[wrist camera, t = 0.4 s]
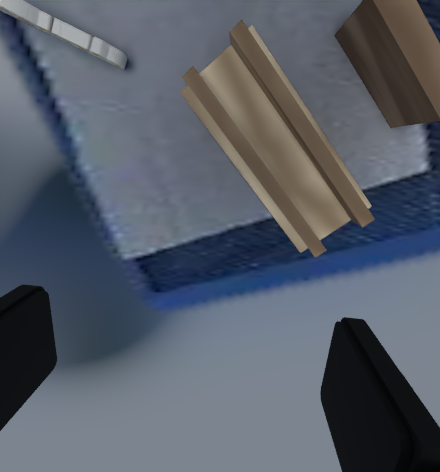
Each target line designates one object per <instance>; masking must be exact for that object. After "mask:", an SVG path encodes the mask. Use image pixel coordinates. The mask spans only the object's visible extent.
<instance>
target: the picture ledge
mask: <svg viewBox="0 0 440 472" xmlns="http://www.w3.org/2000/svg"><path fill="white" fill-rule="evenodd" d="M229 33H230V41H231V45H230V46H229V47H228V48H227V49H226V50H225V51H224V52H222V53H221V54H220V55H219V56H218V57H217V58H216V59H215V60H214V61H213V62H212V63H211V64H210V65H209V66H207V67H206V68H205V69H204V70H203V71H202V72H201V73H200V74H199V73H198V72H197V71H196V69H195V68H194V66H193V67H192V68H190V69H189V70H188V71H187V72H186V73H185V74H184V75H183V76H182V78H183V79H184V80H185V82H186V83H187V84H188V85H187V86H186V87H185V88H184V89H183V90H182V91H181V92H180V93H181V94H182V95H183V97H184V98H185V99H186V101H187V102H188V103H189V105H190V106H191V107H192V109H193V110H194V111H195V113H196V114H197V115H198V117H199V118H200V119H201V121H202V122H203V123H204V125H205V126H206V127H207V129H208V130H209V131H210V133H211V134H212V135H213V137H214V138H215V139H216V141H217V142H218V143H219V145H220V146H221V147H222V149H223V150H224V151H225V153H226V154H227V155H228V157H229V158H230V159H231V161H232V162H233V163H234V165H235V166H236V167H237V169H238V170H239V171H240V173H241V174H242V175H243V177H244V178H245V179H246V181H247V182H248V183H249V185H250V186H251V187H252V189H253V190H254V191H255V193H256V194H257V195H258V197H259V198H260V200H261V201H262V202H263V204H264V205H265V206H266V208H267V209H268V210H269V212H270V213H271V214H272V216H273V217H274V218H275V220H276V221H277V222H278V224H279V225H280V226H281V228H282V229H283V230H284V232H285V233H286V234H287V236H288V237H289V238H290V240H291V241H292V242H293V244H294V245H295V246H296V248H297V249H298V250H299V252H300V253H301V252H303V251H304V250H306V249H307V248H309V250H310V251H311V252H312V254H313V255H314V256H315V257H317V256H319V255H320V254H322V253H323V252H325V251H326V249H325V247H324V246H323V244H322V243H321V242H320V240H321V239H322V238H324V237H326V236H327V235H329V234H330V233H332V232H333V231H335V230H336V229H338V228H339V227H341V226H342V225H344V224H345V223H347V222H348V221H350V220H352V221H354V222H355V223H357V224H358V225H360V226H361V227H364V226H365V225H367V224H369V223H370V222H372V221H373V220H375V219H374V217H373V216H372V214H371V213H370V211H369V210H368V208H370V207H371V204H370V203H369V201H368V200H367V198H366V197H365V195H364V194H363V192H362V191H361V189H360V188H359V186H358V185H357V183H356V181H355V180H354V178H353V177H352V175H351V174H350V172H349V171H348V169H347V168H346V166H345V165H344V163H343V162H342V160H341V159H340V157H339V156H338V154H337V153H336V151H335V150H334V148H333V147H332V145H331V144H330V142H329V141H328V139H327V138H326V136H325V135H324V133H323V132H322V130H321V129H320V127H319V126H318V124H317V123H316V121H315V120H314V118H313V116H312V115H311V113H310V112H309V110H308V109H307V107H306V106H305V104H304V103H303V101H302V100H301V98H300V97H299V95H298V94H297V92H296V91H295V89H294V88H293V86H292V85H291V83H290V82H289V80H288V79H287V77H286V76H285V74H284V73H283V71H282V70H281V68H280V67H279V65H278V64H277V62H276V61H275V59H274V58H273V56H272V55H271V53H270V51H269V50H268V48H267V47H266V45H265V44H264V42H263V41H262V39H261V38H260V36H259V35H258V33H257V32H256V30H255V29H254V27H253V26H252V25H251V26H250V27H249V28H247V26H246V25H245V23H244V22H243V20H241V21H240V22H239V23H238V24H237V25H236V26H235V27H234V28H233V29H232V30H231V31H230V32H229Z"/></svg>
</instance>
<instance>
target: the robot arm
mask: <svg viewBox="0 0 440 472" xmlns="http://www.w3.org/2000/svg"><path fill="white" fill-rule="evenodd" d="M56 362H57V355H56V347H55V339H54V332H53V324H52V316H51V309H50V302H49V295H48V293H47V292H46V291H45V290H44V289H43V287H41V286H32V285H21V286H19V287H17V288H15V289H14V290H12V291H11V292H9V293H7V294H6V295H4V296H3V297H1V298H0V431H1V430H2V428H3V427H4V426H5V425H6V424H7V423H8V421H9V420H10V419H11V418H12V417H13V416H14V415H15V413H16V412H17V411H18V410H19V409H20V408H21V406H22V405H23V404H24V403H25V402H26V400H27V399H28V398H29V397H30V396H31V395H32V394H33V393H34V391H35V390H36V389H37V388H38V386H40V384H41V383H42V382H43V381H44V380H45V379H46V377H47V376H48V375H49V374H50V373H51V371H52V370H53V369H54V367H55V365H56ZM321 402H322V406H323V409H324V412H325V416H326V419H327V422H328V426H329V429H330V432H331V436H332V439H333V442H334V446H335V449H336V452H337V455H338V459H339V462H340V466H341V469H342V472H440V427H439V426H438V425H437V423H436V422H435V420H434V419H433V417H432V416H431V415H430V413H429V412H428V410H427V409H426V407H425V406H424V404H423V403H422V402H421V400H420V399H419V397H418V396H417V395H416V393H415V392H414V390H413V389H412V387H411V386H410V384H409V383H408V381H407V380H406V379H405V377H404V376H403V374H402V373H401V372H400V371H399V369H398V368H397V366H396V365H395V364H394V362H393V361H392V359H391V358H390V356H389V355H388V353H387V352H386V351H385V349H384V348H383V346H382V345H381V343H380V342H379V341H378V339H377V338H376V336H375V335H374V333H373V332H372V330H371V329H370V327H369V326H368V325H367V323H366V322H365V321H364V320H363V319H355V318H345V317H344V318H342V320H341V322H336V323H335V327H334V331H333V336H332V340H331V345H330V349H329V354H328V359H327V363H326V368H325V373H324V378H323V382H322V386H321Z"/></svg>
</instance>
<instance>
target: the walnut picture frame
mask: <svg viewBox="0 0 440 472" xmlns="http://www.w3.org/2000/svg"><path fill="white" fill-rule="evenodd" d="M335 37H336V39H337V40H338V42H339V44H340V45H341V47H342V49H343V50H344V52H345V53H346V55H347V57H348V58H349V60H350V62H351V63H352V65H353V67H354V68H355V70H356V72H357V73H358V75H359V77H360V78H361V80H362V81H363V83H364V85H365V86H366V88H367V90H368V91H369V93H370V95H371V96H372V98H373V100H374V101H375V103H376V105H377V106H378V108H379V109H380V111H381V113H382V114H383V116H384V118H385V119H386V121H387V123H388V124H389V126H390V128H393V127H400V126H407V125H414V124H421V123H428V122H435V121H440V44H439V42H438V40H437V38H436V36H435V34H434V33H433V31H432V29H431V27H430V25H429V23H428V21H427V19H426V18H425V16H424V14H423V12H422V10H421V8H420V6H419V4H418V3H417V1H416V0H363V1H362V2H361V3H360V5H359V6H358V7H357V8H356V10H355V11H354V12H353V13H352V15H351V16H350V17H349V18H348V20H347V21H346V22H345V23H344V25H343V26H342V27H341V28H340V30H339V31H338V32H337V33H336V35H335Z"/></svg>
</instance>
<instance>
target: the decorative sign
mask: <svg viewBox="0 0 440 472" xmlns="http://www.w3.org/2000/svg"><path fill="white" fill-rule="evenodd" d="M0 11H2V12H4V13H6V14H8V15H10V16H12V17H14V18H16V19H18V20H20V21H22V22H24V23H26V24H28V25H31V26H33V27H35V28H38V29H40V30H42V31H44V32H46V33H48V34H50V35H52V36H54V37H56V38H58V39H60V40H63V41H64V42H67V43H69V44H71V45H73V46H75V47H77V48H79V49H81V50H82V49H83V50H85V52H87V53H89V54H91V55H93V56H96V57H98V58H100V59H102V60H104V61H106V62H108V63H110V64H112V65H114V66H116V67H118V68H121V69H123V70H124V69H125V65H126V62H127V57H126V56H127V55H126V54H124V53H123V52H121V51H120V50H118V49H116V48H115V47H113V46H111V45H109V44H108V43H106V42H104V41H103V40H101V39H99V38H97V37H95V36H94V37H92V36H91V35H89V34H87V33H85V32H83V31H81V30H79V29H77V28H75V27H73V26H71V25H69V24H67V23H65V22H63V21H61V20H59V19H57V18H53V17H52V16H51V15H49V14H47V13H45V12H43V11H41V10H39V9H37V8H36V7H34V6H32V5H30V4H29V3H27V2H25V1H23V0H0Z"/></svg>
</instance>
